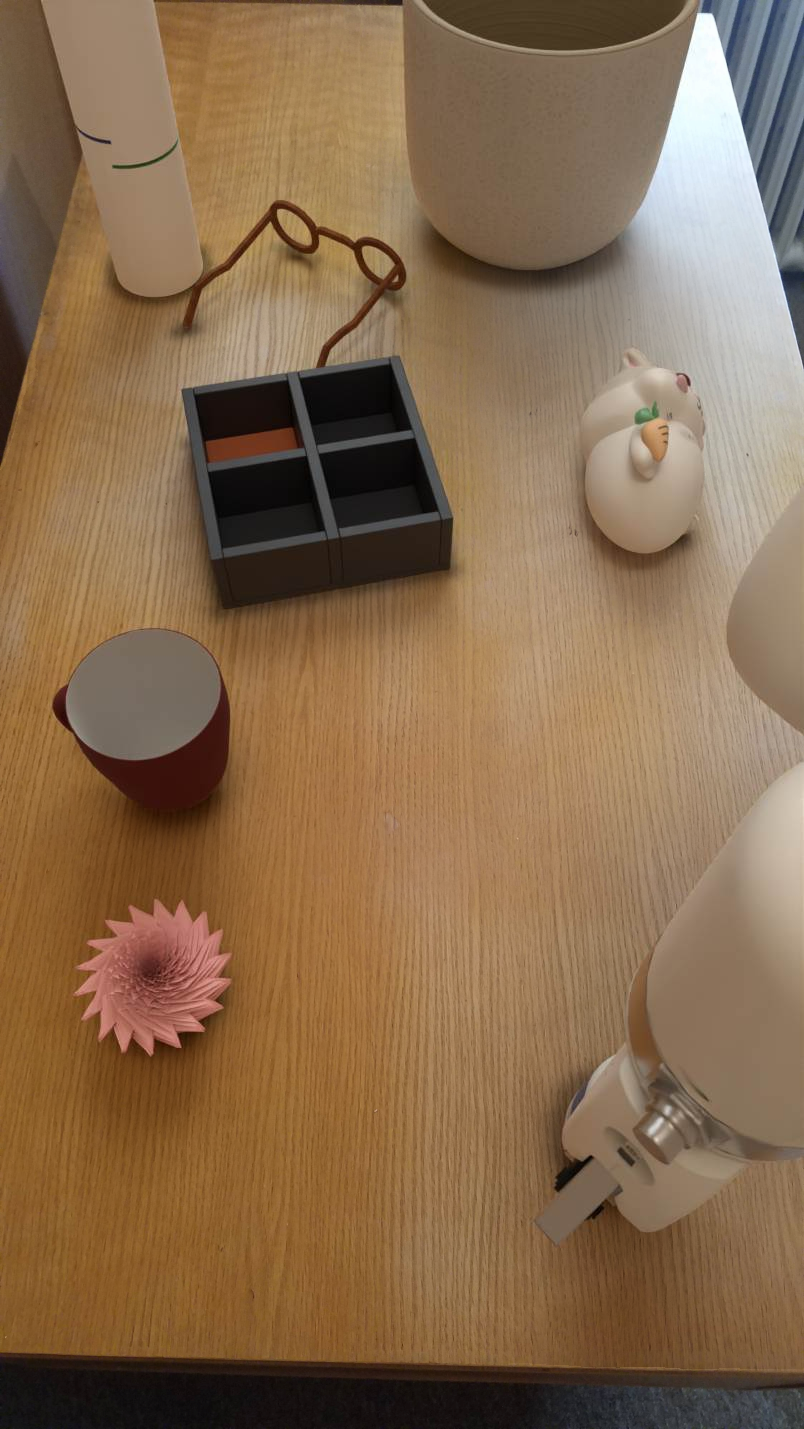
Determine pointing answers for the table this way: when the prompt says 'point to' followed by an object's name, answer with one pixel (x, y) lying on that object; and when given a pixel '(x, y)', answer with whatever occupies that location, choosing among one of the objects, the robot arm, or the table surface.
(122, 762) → the mug
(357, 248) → the glasses
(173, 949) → the flower
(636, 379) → the white animal figurine
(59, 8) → the cylindrical container
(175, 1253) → the table surface
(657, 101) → the planter
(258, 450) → the divided storage tray
